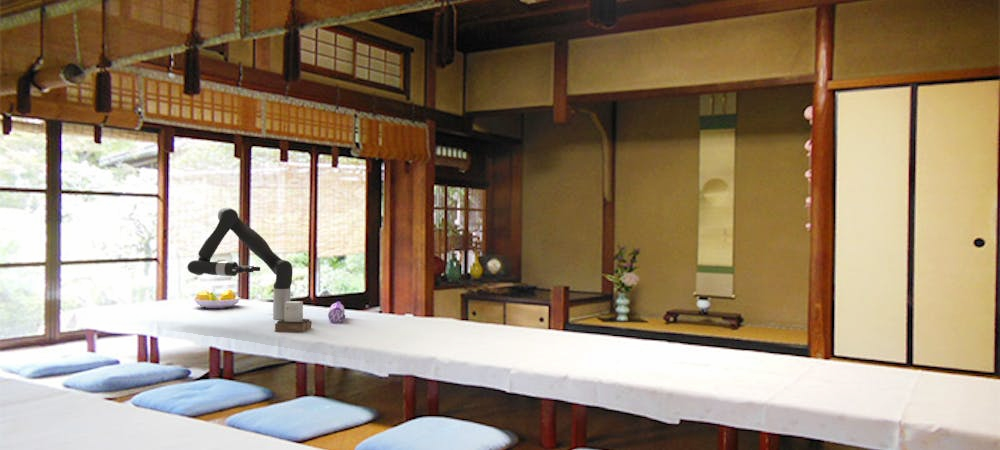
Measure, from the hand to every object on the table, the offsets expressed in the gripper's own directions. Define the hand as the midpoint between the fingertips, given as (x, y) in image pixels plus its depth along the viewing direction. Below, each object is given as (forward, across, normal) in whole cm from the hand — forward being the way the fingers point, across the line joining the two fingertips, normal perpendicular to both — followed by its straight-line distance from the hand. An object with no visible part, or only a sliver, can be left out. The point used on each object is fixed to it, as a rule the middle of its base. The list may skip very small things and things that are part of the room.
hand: (256, 269), depth 374 cm
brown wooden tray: (+23, -7, +30) cm, 39 cm away
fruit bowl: (-52, +62, +30) cm, 86 cm away
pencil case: (+35, +28, +30) cm, 54 cm away
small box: (+23, -7, +26) cm, 36 cm away
